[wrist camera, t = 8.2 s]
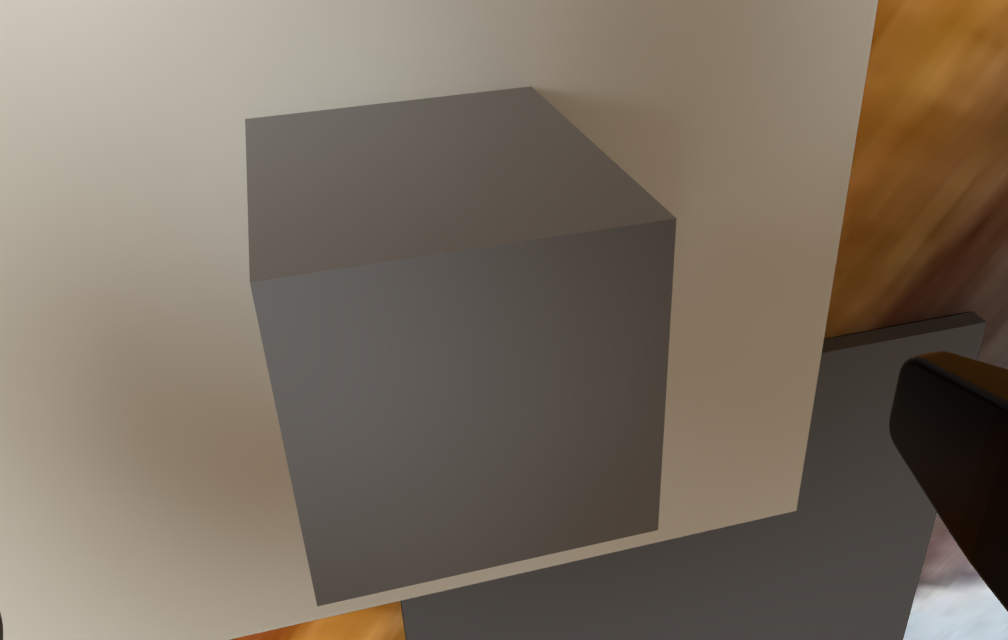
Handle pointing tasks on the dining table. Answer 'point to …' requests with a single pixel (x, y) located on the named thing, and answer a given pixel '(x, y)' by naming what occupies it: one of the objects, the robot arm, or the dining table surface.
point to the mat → (753, 538)
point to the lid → (400, 293)
